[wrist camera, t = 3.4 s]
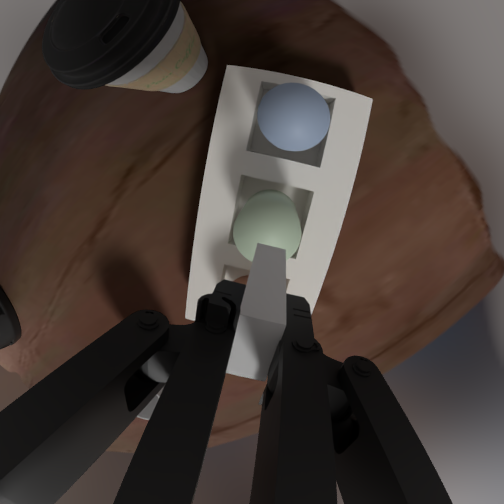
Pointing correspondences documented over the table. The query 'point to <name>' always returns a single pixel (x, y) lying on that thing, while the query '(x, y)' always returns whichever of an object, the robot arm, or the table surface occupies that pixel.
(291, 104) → the slate cap
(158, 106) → the table surface
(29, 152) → the table surface
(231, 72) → the button board
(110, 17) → the coffee cup
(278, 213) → the sage cap
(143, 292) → the table surface
